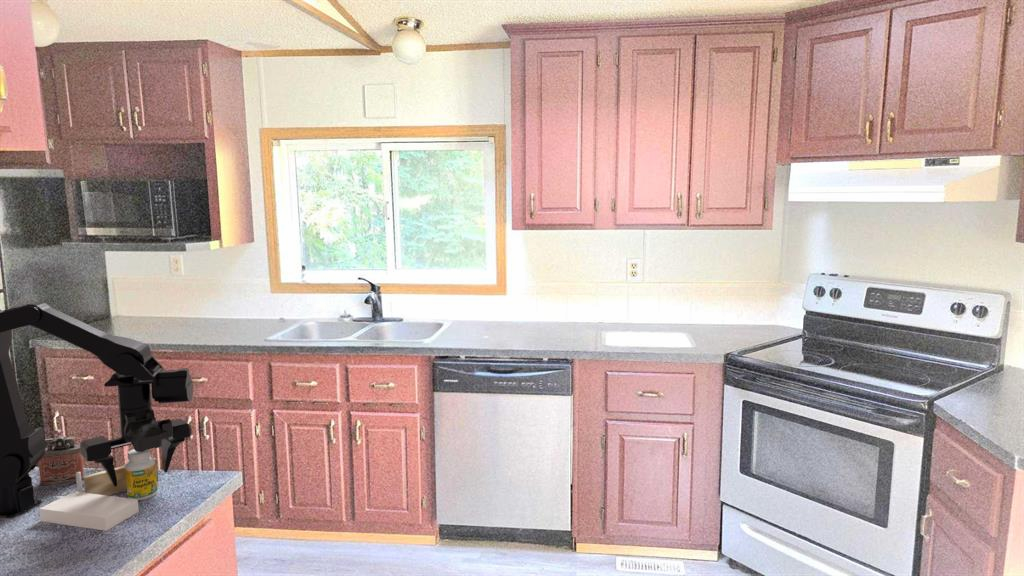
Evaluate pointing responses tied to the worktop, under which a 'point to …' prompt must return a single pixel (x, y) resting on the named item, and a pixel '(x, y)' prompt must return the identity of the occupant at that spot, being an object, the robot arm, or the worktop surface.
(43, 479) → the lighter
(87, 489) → the wooden board
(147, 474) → the supplement bottle
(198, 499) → the worktop surface
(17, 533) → the worktop surface
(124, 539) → the worktop surface
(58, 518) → the white slab
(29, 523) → the worktop surface
